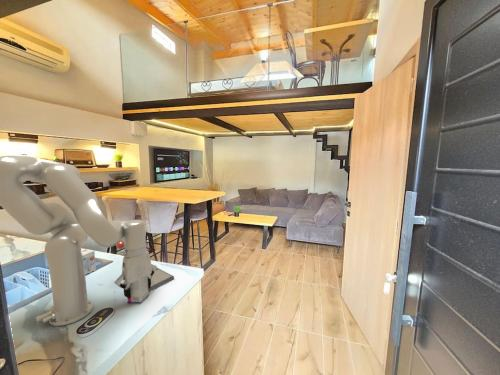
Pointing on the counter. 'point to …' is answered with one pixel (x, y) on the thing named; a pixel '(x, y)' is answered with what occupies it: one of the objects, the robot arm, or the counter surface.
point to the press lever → (120, 245)
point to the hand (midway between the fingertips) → (138, 291)
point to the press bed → (159, 278)
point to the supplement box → (138, 290)
